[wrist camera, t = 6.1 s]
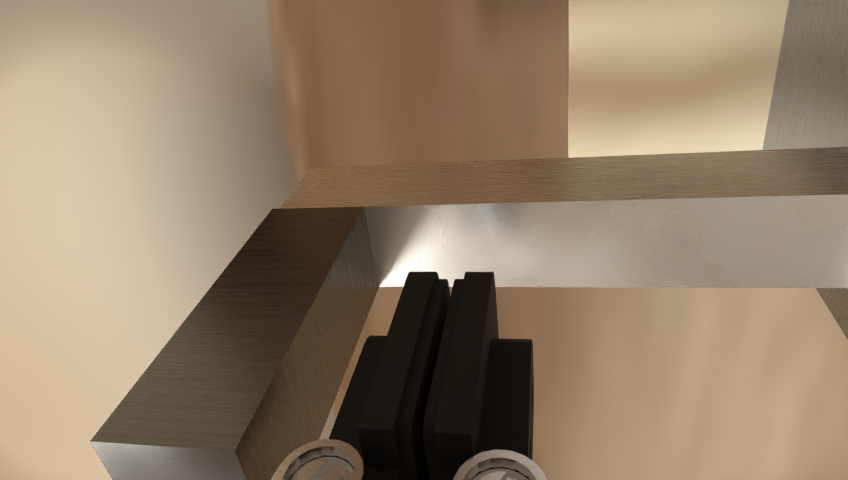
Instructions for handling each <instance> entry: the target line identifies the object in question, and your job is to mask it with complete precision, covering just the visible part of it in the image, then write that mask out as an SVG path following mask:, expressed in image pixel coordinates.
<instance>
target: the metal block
mask: <svg viewBox="0 0 848 480" xmlns="http://www.w3.org/2000/svg"><path fill="white" fill-rule="evenodd" d="M825 147H848V0H789V4H788V9H787V15H786V21H785V26H784V32H783V37H782V43H781V48H780V54H779V60H778V65H777V71H776V76H775V82H774V87H773V93H772V99H771V104H770V110H769V115H768V121H767V126H766V132H765V138H764V143H763V149H762V150H775V149H800V148H825ZM816 289H817V291H818V292H819V294H820V296H821V297H822V299H823V301H824V302H825V304H826V305H827V307H828V309H829V310H830V312H831V313H832V315H833V317H834V318H835V320H836V321H837V323H838V325H839V326H840V328H841V329H842V331H843V333H844V334H845V336H846V337H847V339H848V288H816Z"/></svg>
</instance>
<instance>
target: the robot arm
mask: <svg viewBox="0 0 848 480" xmlns="http://www.w3.org/2000/svg"><path fill="white" fill-rule="evenodd" d="M533 409H534V375H533V343H532V340H531V339H499V336H498V321H497V306H496V291H495V278H494V272H465V275H464V279H455V280H454V284H453V288H452V293H451V297H450V291H449V283H448V280H447V279H439V276H438V273H437V272H409V273H408V275H407V278H406V281H405V284H404V287H403V290H402V293H401V296H400V299H399V302H398V305H397V308H396V311H395V314H394V317H393V320H392V323H391V326H390V329H389V332H388V335H387V336H369V337H368V338H367V340H366V342H365V344H364V347H363V349H362V352H361V355H360V357H359V360H358V363H357V365H356V368H355V371H354V373H353V376H352V379H351V381H350V384H349V387H348V389H347V392H346V395H345V397H344V400H343V402H342V405H341V408H340V410H339V413H338V416H337V418H336V421H335V424H334V426H333V429H332V432H331V435H330V437H329V439H322V440H317V441H312V442H310V443H307V444H305V445H303V446H301V447H299V448H297V449H296V450H295V451H293V452H292V453H291V454H289V455H288V456H287V457H286V458H285V459H284V461H283V462H282V463H281V464H280V466H279V467H278V469H277V470H276V472H275V473H274V475H273V477H272V478H271V480H546V477H545V474H544V473H543V471H542V470H541V469H540V468H539V466H538V465H537V464H536V463H535V462H533V461H532V451H533Z"/></svg>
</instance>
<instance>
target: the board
mask: <svg viewBox="0 0 848 480" xmlns="http://www.w3.org/2000/svg"><path fill="white" fill-rule="evenodd" d="M788 4H789V0H569V16H568V158H574V157H599V156H624V155H649V154H674V153H700V152H725V151H750V150H762V149H763V143H764V138H765V132H766V126H767V121H768V115H769V110H770V104H771V99H772V93H773V87H774V82H775V76H776V71H777V65H778V60H779V54H780V48H781V43H782V37H783V32H784V26H785V21H786V15H787V9H788Z"/></svg>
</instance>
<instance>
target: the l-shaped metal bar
mask: <svg viewBox="0 0 848 480" xmlns="http://www.w3.org/2000/svg"><path fill="white" fill-rule="evenodd" d="M409 272H437V273H438V276H439V279H447V280H448V283H449V287H453V284H454V280H455V279H464V275H465V272H494V278H495V287H689V288H848V147H825V148H800V149H775V150H750V151H725V152H700V153H674V154H649V155H624V156H599V157H574V158H548V159H523V160H498V161H473V162H448V163H423V164H397V165H372V166H347V167H322V168H310V170H309V171H308V172H307V174H306V175H305V176H304V178H303V179H302V180H301V181H300V183H299V184H298V185H297V187H296V188H295V189H294V191H293V192H292V193H291V195H290V196H289V197H288V199H287V200H286V201H285V203H284V204H283V205H282V206H281V208H280V209H272V210H271V211H270V212H269V214H268V215H267V216H266V218H265V219H264V220H263V221H262V223H261V224H260V225H259V227H258V228H257V229H256V230H255V232H254V233H253V234H252V235H251V237H250V238H249V239H248V241H247V242H246V243H245V244H244V246H243V247H242V248H241V250H240V251H239V252H238V253H237V255H236V256H235V257H234V258H233V260H232V261H231V262H230V264H229V265H228V266H227V267H226V269H225V270H224V271H223V273H222V274H221V275H220V276H219V278H218V279H217V280H216V281H215V283H214V284H213V285H212V287H211V288H210V289H209V290H208V292H207V293H206V294H205V295H204V297H203V298H202V299H201V301H200V302H199V303H198V305H197V306H196V307H195V308H194V310H193V311H192V312H191V313H190V315H189V316H188V317H187V318H186V320H185V321H184V322H183V324H182V325H181V326H180V327H179V329H178V330H177V331H176V332H175V334H174V335H173V336H172V338H171V339H170V340H169V341H168V343H167V344H166V345H165V347H164V348H163V349H162V350H161V352H160V353H159V354H158V355H157V357H156V358H155V360H154V361H153V362H152V363H151V364H150V366H149V367H148V368H147V369H146V371H145V372H144V373H143V375H142V376H141V377H140V378H139V380H138V381H137V382H136V384H135V385H134V386H133V388H132V389H131V390H130V391H129V392H128V394H127V395H126V396H125V398H124V399H123V400H122V401H121V403H120V404H119V405H118V406H117V408H116V409H115V410H114V412H113V413H112V414H111V415H110V417H109V418H108V419H107V421H106V422H105V423H104V424H103V426H102V427H101V428H100V429H99V431H98V432H97V433H96V435H95V436H94V437H93V439H92V440H91V441H90V442H91V444H92V446H93V447H94V449H95V450H96V452H97V454H98V456H99V457H100V459H101V461H102V463H103V464H104V466H105V468H106V469H107V471H108V473H109V474H110V476H111V478H112V480H271V478H272V477H273V475H274V473H275V472H276V470H277V469H278V467H279V466H280V464H281V463H282V462H283V461H284V459H285V458H286V457H287V456H288V455H289V454H291V453H292V452H293V451H295V450H296V449H297V448H299V447H301V446H303V445H305V444H307V443H310V442H312V441H317V440H319V438H320V435H321V433H322V430H323V428H324V425H325V423H326V420H327V418H328V415H329V413H330V410H331V408H332V405H333V402H334V400H335V397H336V395H337V392H338V390H339V387H340V385H341V382H342V380H343V377H344V374H345V372H346V369H347V367H348V364H349V362H350V359H351V357H352V354H353V352H354V349H355V346H356V344H357V341H358V339H359V336H360V334H361V331H362V329H363V326H364V324H365V321H366V318H367V316H368V313H369V311H370V308H371V306H372V303H373V301H374V298H375V296H376V293H377V290H378V288H379V286H391V287H404V284H405V281H406V278H407V275H408V273H409Z"/></svg>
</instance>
